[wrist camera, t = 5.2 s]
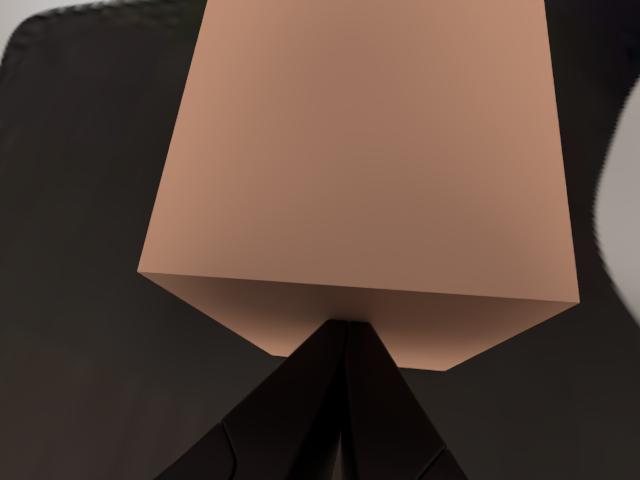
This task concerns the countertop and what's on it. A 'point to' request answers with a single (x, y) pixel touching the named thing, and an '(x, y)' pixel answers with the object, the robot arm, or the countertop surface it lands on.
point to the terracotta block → (368, 175)
